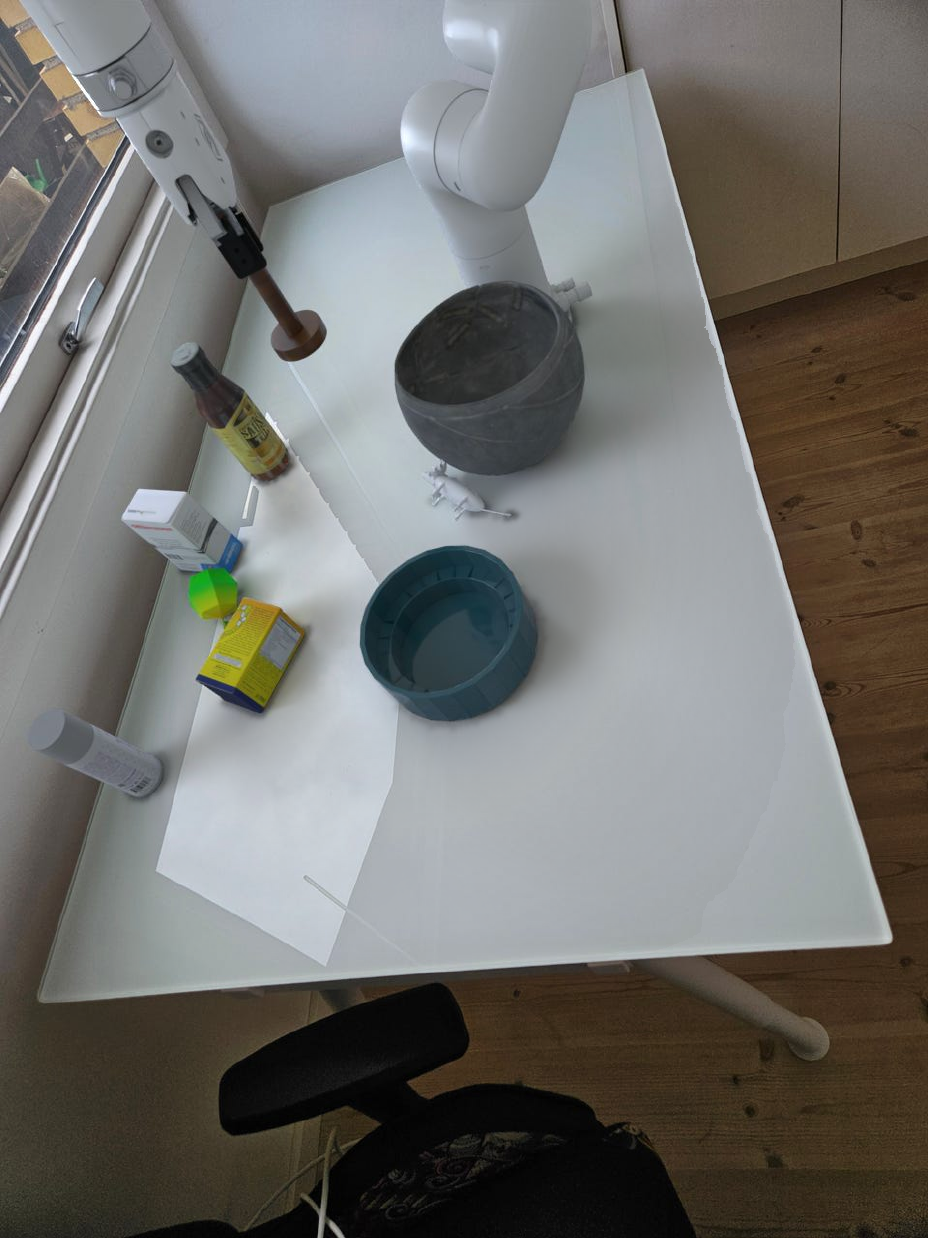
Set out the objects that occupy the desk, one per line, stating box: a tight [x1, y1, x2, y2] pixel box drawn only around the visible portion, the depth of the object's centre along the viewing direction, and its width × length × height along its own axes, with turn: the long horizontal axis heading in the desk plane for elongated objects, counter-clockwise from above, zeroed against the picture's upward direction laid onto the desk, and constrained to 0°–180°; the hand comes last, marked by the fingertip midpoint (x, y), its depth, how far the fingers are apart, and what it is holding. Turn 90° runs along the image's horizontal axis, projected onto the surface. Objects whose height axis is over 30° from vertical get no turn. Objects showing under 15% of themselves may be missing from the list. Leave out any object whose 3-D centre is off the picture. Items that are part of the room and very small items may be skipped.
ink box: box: [120, 488, 243, 575], centre depth 101 cm, size 9×5×12 cm, turn 71°
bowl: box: [393, 281, 586, 477], centre depth 91 cm, size 21×21×15 cm
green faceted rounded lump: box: [187, 568, 239, 631], centre depth 98 cm, size 7×6×9 cm
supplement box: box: [194, 596, 307, 715], centre depth 91 cm, size 6×6×11 cm
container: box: [27, 707, 164, 798], centre depth 86 cm, size 5×5×15 cm
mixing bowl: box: [359, 544, 539, 723], centre depth 83 cm, size 17×17×6 cm
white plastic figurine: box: [421, 459, 513, 522], centre depth 93 cm, size 12×5×5 cm
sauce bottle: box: [169, 341, 290, 482], centre depth 103 cm, size 6×6×20 cm
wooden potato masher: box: [217, 214, 328, 363], centre depth 81 cm, size 6×6×16 cm
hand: (251, 262), depth 79 cm, fingers closed on wooden potato masher
